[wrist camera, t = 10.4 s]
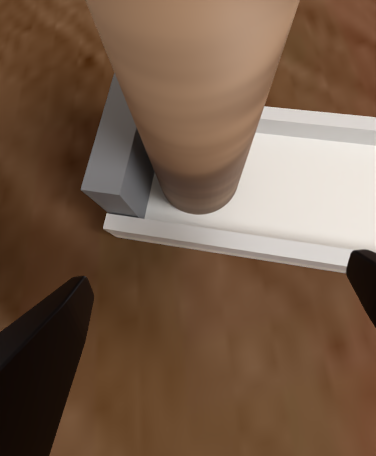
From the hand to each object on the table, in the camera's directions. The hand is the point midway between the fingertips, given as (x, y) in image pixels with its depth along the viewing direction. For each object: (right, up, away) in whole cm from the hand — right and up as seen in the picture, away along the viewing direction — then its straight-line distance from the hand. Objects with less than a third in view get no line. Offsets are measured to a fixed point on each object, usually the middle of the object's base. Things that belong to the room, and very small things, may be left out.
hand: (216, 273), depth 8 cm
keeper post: (0, +5, +9) cm, 10 cm away
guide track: (+6, +4, +9) cm, 12 cm away
